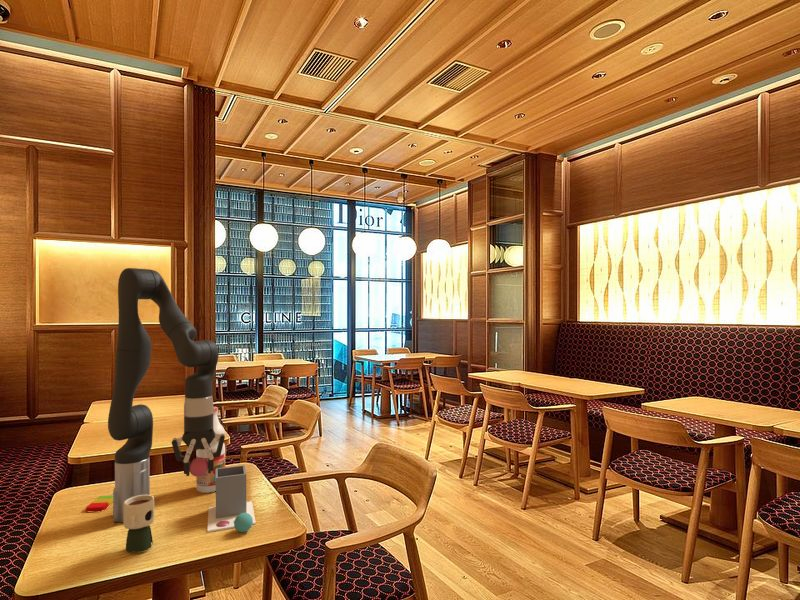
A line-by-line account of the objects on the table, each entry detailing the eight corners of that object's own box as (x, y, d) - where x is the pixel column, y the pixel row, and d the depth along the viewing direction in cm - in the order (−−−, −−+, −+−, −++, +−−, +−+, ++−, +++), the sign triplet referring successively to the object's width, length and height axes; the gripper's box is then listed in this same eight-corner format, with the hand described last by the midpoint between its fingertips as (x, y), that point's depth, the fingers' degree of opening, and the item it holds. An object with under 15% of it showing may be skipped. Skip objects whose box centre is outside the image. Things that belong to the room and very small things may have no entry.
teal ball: (234, 536, 130) (234, 518, 130) (233, 528, 134) (233, 511, 134) (253, 533, 131) (253, 515, 131) (252, 525, 136) (252, 508, 136)
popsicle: (83, 513, 146) (84, 507, 146) (107, 494, 160) (107, 488, 160) (103, 512, 146) (103, 506, 146) (124, 493, 161) (124, 488, 161)
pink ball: (188, 480, 127) (188, 461, 127) (189, 474, 132) (189, 456, 132) (208, 477, 129) (208, 459, 129) (208, 471, 134) (208, 454, 134)
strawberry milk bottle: (201, 483, 168) (200, 405, 168) (228, 482, 169) (228, 404, 169) (192, 494, 159) (192, 411, 159) (221, 492, 160) (220, 410, 160)
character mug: (147, 558, 119) (147, 507, 119) (116, 562, 117) (116, 510, 117) (160, 537, 129) (159, 490, 130) (131, 540, 128) (131, 492, 128)
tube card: (207, 532, 132) (207, 488, 132) (208, 509, 147) (208, 469, 147) (255, 524, 137) (255, 481, 137) (251, 502, 152) (251, 463, 152)
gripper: (168, 418, 124) (168, 482, 124) (226, 413, 130) (226, 475, 129) (171, 411, 131) (171, 472, 131) (226, 407, 137) (226, 466, 136)
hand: (199, 473), depth 130 cm, fingers closed on pink ball, 5 cm apart
